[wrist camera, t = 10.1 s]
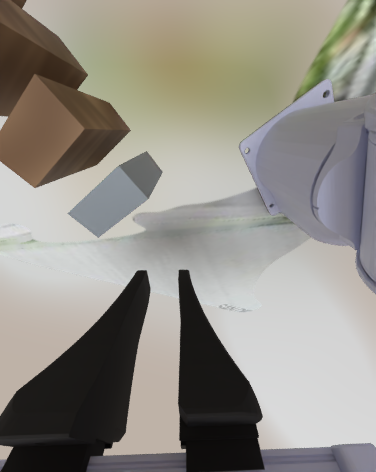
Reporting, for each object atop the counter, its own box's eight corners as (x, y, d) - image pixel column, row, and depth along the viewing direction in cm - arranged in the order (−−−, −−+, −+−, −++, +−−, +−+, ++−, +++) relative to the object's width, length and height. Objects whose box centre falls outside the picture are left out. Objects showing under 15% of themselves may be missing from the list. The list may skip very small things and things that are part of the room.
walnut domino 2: (130, 130, 14) (84, 128, 8) (97, 164, 16) (34, 188, 9) (109, 102, 13) (34, 73, 7) (75, 142, 15) (-13, 151, 8)
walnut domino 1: (87, 74, 12) (-26, 7, 6) (54, 120, 14) (-66, 109, 7) (58, 37, 11) (-124, -103, 5) (25, 91, 13) (-147, 46, 6)
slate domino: (162, 172, 16) (148, 199, 10) (129, 198, 18) (98, 237, 11) (146, 151, 15) (118, 165, 9) (113, 181, 17) (67, 213, 10)
